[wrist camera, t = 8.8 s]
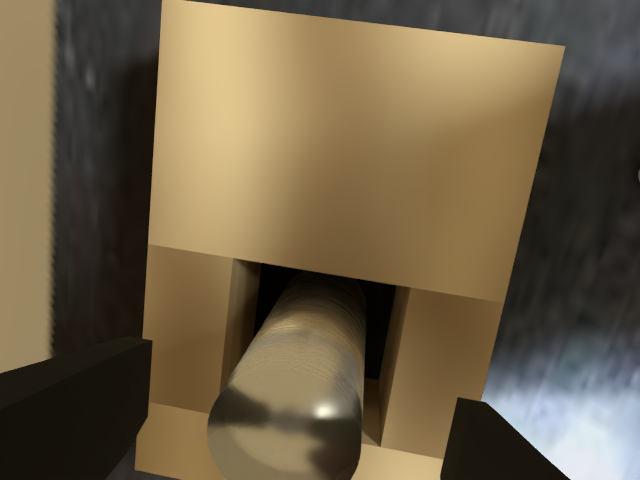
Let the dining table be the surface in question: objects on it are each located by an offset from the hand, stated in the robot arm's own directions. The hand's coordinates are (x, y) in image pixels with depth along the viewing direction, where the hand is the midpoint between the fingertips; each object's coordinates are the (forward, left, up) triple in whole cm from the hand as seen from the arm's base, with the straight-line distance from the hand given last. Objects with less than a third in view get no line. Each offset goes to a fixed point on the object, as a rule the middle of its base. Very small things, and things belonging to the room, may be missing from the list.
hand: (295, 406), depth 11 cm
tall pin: (0, 0, -7) cm, 7 cm away
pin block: (+1, -2, -7) cm, 7 cm away
